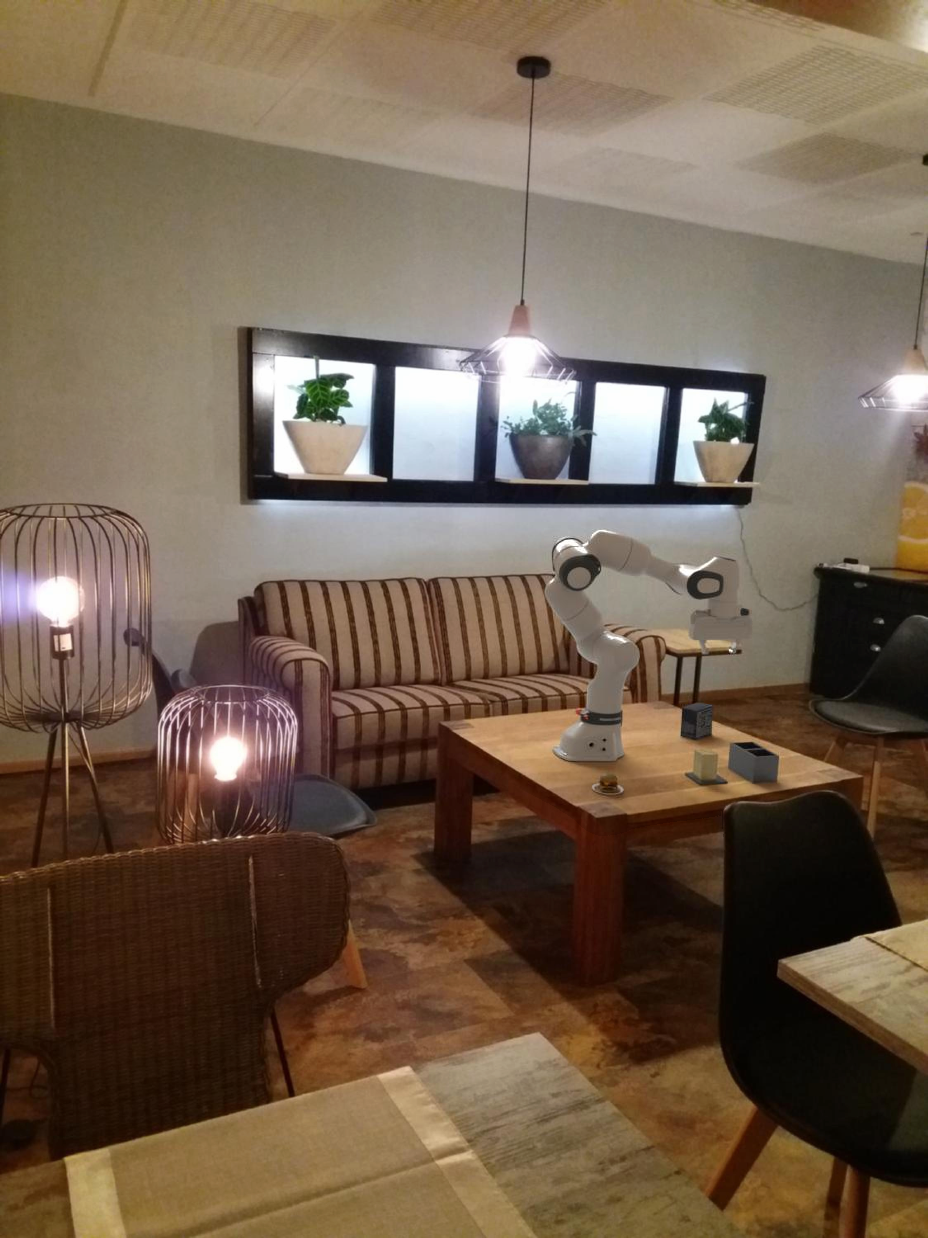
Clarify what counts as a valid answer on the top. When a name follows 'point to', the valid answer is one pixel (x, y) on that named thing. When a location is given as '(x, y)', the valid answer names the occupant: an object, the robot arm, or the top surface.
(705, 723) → the small box
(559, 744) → the robot arm
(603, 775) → the hamburger
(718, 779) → the mat
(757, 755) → the divided storage bin
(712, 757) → the cream tapered block
